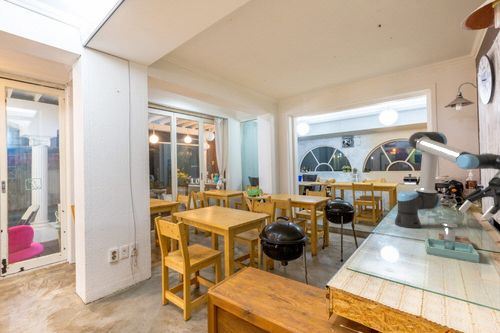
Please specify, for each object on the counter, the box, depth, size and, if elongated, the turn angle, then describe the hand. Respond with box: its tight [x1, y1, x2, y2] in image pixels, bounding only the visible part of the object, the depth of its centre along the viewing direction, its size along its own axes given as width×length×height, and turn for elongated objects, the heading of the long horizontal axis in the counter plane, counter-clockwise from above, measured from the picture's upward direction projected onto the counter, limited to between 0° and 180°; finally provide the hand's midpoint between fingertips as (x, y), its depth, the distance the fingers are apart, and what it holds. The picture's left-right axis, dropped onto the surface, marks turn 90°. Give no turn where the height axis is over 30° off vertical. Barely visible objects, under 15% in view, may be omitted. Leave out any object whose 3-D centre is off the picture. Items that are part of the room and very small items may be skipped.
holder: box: [438, 233, 474, 247], centre depth 123 cm, size 12×12×3 cm
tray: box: [424, 237, 480, 264], centre depth 111 cm, size 18×16×4 cm
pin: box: [441, 222, 458, 251], centre depth 111 cm, size 6×6×13 cm
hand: (472, 214), depth 113 cm, fingers open, 13 cm apart
